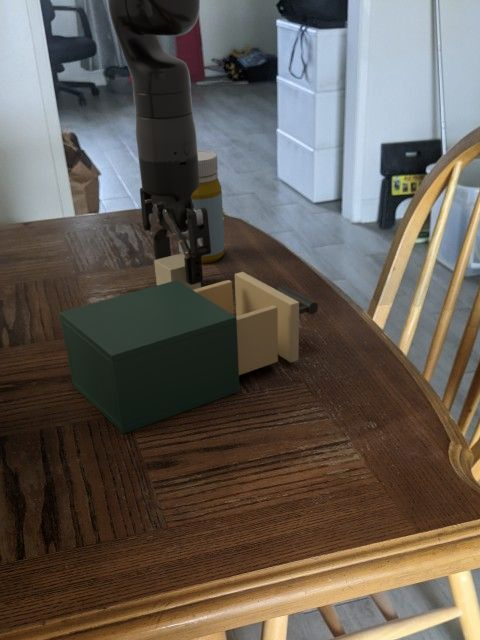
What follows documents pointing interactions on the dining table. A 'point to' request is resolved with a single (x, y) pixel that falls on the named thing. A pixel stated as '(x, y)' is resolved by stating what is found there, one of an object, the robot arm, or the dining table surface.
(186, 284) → the block
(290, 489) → the dining table surface
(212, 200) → the bottle
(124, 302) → the cabinet
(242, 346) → the drawer
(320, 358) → the dining table surface
